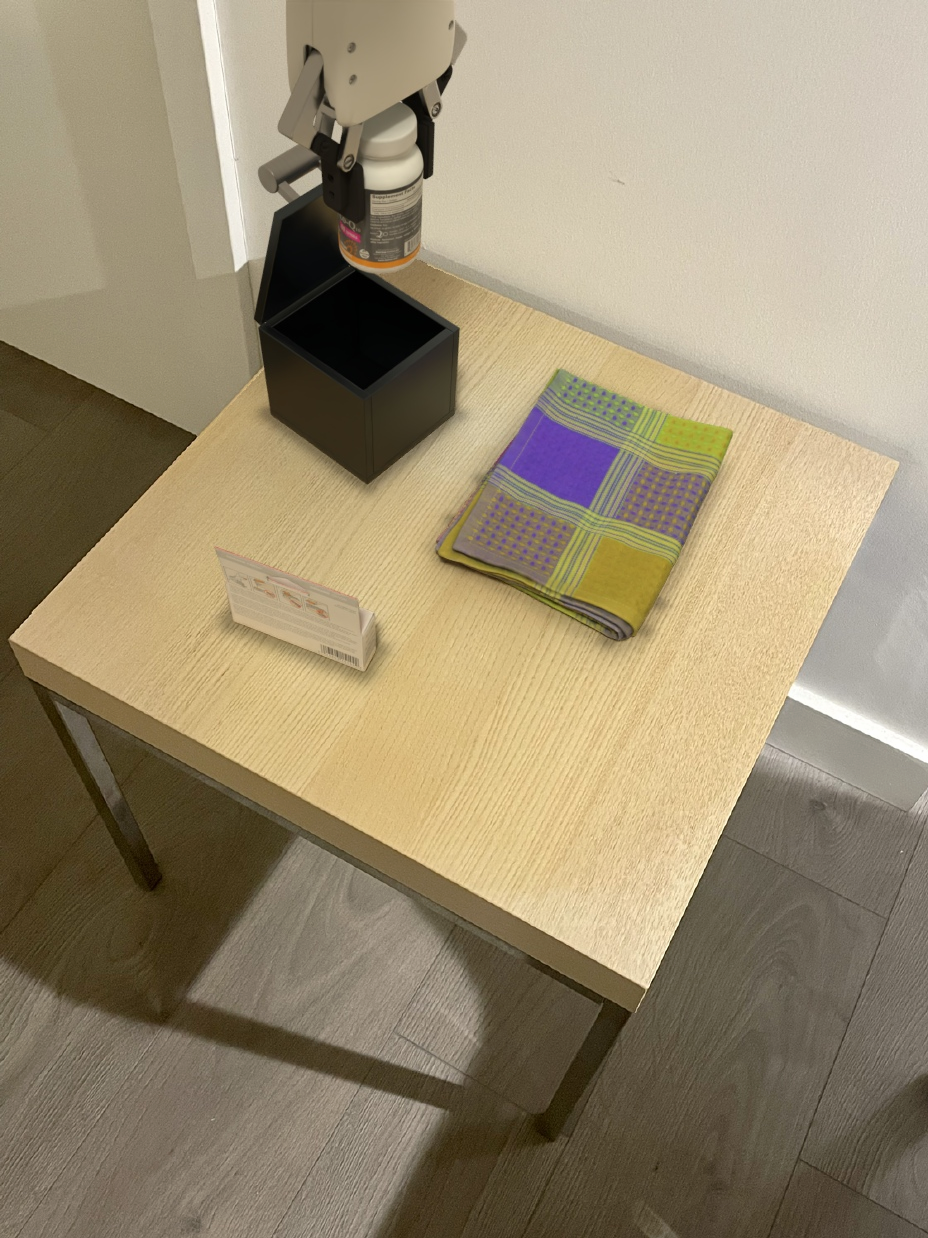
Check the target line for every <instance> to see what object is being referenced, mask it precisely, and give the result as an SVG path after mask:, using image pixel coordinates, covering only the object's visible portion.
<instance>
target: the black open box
mask: <svg viewBox="0 0 928 1238" xmlns="http://www.w3.org/2000/svg"><path fill="white" fill-rule="evenodd" d="M257 329H258V330H257V331H258V336H259V343H260V350H261V356H262V357H261V358H262V364H263V365H262V366H263V371H264V377H265V378H264V379H265V384H266V392H267V397H268V398H267V400H268V406H269V412H270V415H271V416H273V417H274V418H275V419H277V420H278V421H279V422H281V423H282V424H283V425H285V426H286V427H288V428H289V429H290V430H292V431H293V432H295V433H296V434H297V435H299V436H300V437H301V438H303V439H304V440H306V441H307V442H308V443H309V444H311V445H312V446H314V447H315V448H317V449H318V450H319V451H321V453H323V454H325V455H326V456H328V457H329V458H330V459H332V460H333V461H335V462H336V463H337V464H339V465H340V466H341V467H343V468H344V469H345V470H347V471H348V472H349V473H351V474H352V475H354V476H355V477H356V478H357V479H359V480H360V481H362V482H363V483H365V484H366V485H369V484H370V483H371V482H372V481H374V480H375V479H376V478H377V477H378V476H380V475H381V474H382V473H384V472H385V471H386V470H387V469H389V468H390V467H391V466H392V465H393V464H395V463H396V462H397V461H398V460H400V459H401V458H402V457H404V455H405V454H408V452H409V451H411V450H412V449H413V448H414V447H416V446H417V445H418V444H419V443H421V442H422V441H423V440H424V439H425V438H427V437H428V436H429V435H431V434H432V433H433V432H434V431H436V430H437V429H438V428H439V427H440V426H442V425H443V424H444V423H445V422H446V421H448V420H449V419H450V418H452V416H454V415H456V414H455V413H456V402H457V401H456V399H457V383H458V365H459V352H460V351H459V349H460V332H461V328H460V327H459V326H457V325H456V324H454V323H453V322H452V321H450V320H448V319H447V318H445V317H443V316H442V315H441V314H439V313H438V312H435V310H432V309H431V308H430V307H428V306H426V305H425V304H423V303H422V302H420V301H419V300H417V299H415V298H413V296H410V295H409V294H407V293H406V292H404V291H403V290H401V289H400V288H398V287H397V286H395V285H393V284H392V283H391V282H389V281H388V280H386V279H384V278H383V277H381V276H379V274H374V273H368V272H365V271H362V270H359V269H357V268H355V267H354V266H352V265H350V266H348V267H347V268H345V269H344V270H342V271H341V272H339V273H338V274H336V275H335V276H334V277H332V278H331V279H329V280H328V281H326V282H325V283H323V284H322V285H320V286H319V287H317V288H316V289H314V290H313V291H311V292H310V293H308V294H307V295H305V296H304V297H302V298H301V299H299V300H298V301H296V302H295V303H293V304H292V305H290V306H289V307H287V308H286V309H284V310H283V311H282V312H280V313H279V314H277V315H276V316H274V317H273V318H271V319H270V320H268V321H267V322H265V323H264V324H262V325H261V326H260V325H259V326H258V327H257Z"/></svg>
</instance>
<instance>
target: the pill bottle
mask: <svg viewBox="0 0 928 1238" xmlns="http://www.w3.org/2000/svg"><path fill="white" fill-rule="evenodd" d="M342 130H343V126H341V131H342ZM416 139H417V120H416V116H415V114H414V112H413V111H412V110H411V108H409V107H408V106H407V105H405V104H403V103H402V101H399V102H398V103H396V104H394V105H392V106H391V107H389V108H387V109H386V110H384V111H382V112H380V113H378V114H377V115H375V116H373V117H371V118H369V119H367V120H365V121H364V125H363V130H362V135H361V139H360V144H359V148H358V153H357V157H356V162H357V163H359V164H361V165H362V166H363V170H364V200H365V216H364V220H362V221H361V222H359V223H357V224H355V223H353V222H352V221H350V220H349V219H347V218H345V217H344V216H342V215H341V214H339V213H338V234H339V248H340V251H341V254H342V255H343V257H344V258H345V260H346V261H347V262H348V263H349V264H351V265H352V266H354V267H355V268H357V269H359V270H362V271H365V272H368V273H374V274H376V275H388V274H394V273H397V272H399V271H401V270H404V269H406V268H407V267H409V266H410V265H412V264H413V263H414V261H416V259H417V258H418V256H419V254H420V251H421V246H422V245H421V244H422V221H423V219H422V218H423V191H424V190H423V189H424V187H423V186H424V179H423V158H422V154H421V151H420V150H419V148H418V146H417V145H416V144H415V142H416Z"/></svg>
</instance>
